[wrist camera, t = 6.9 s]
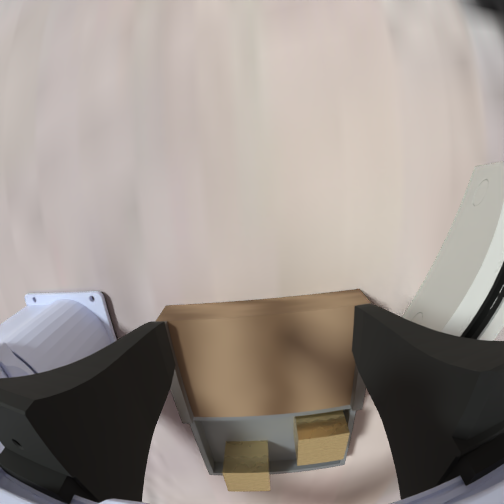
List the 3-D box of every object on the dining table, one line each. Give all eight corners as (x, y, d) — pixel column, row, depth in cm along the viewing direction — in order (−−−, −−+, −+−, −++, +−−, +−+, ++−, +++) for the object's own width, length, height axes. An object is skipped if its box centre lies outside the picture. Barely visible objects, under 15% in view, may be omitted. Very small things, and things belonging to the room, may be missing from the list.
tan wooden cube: (293, 405, 22) (293, 433, 23) (298, 440, 18) (297, 465, 19) (339, 400, 22) (335, 428, 23) (349, 432, 18) (343, 459, 19)
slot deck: (189, 397, 23) (182, 423, 19) (166, 305, 20) (151, 327, 17) (351, 384, 22) (362, 409, 19) (359, 288, 20) (375, 308, 17)
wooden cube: (225, 441, 24) (231, 462, 25) (222, 472, 20) (228, 491, 21) (267, 440, 23) (269, 461, 24) (268, 472, 20) (270, 490, 21)
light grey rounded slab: (422, 358, 22) (449, 424, 12) (382, 336, 23) (396, 399, 13) (506, 195, 18) (571, 185, 8) (468, 167, 19) (525, 139, 9)
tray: (211, 461, 25) (209, 474, 23) (191, 401, 23) (187, 416, 21) (340, 451, 25) (344, 464, 23) (351, 388, 22) (357, 402, 20)
